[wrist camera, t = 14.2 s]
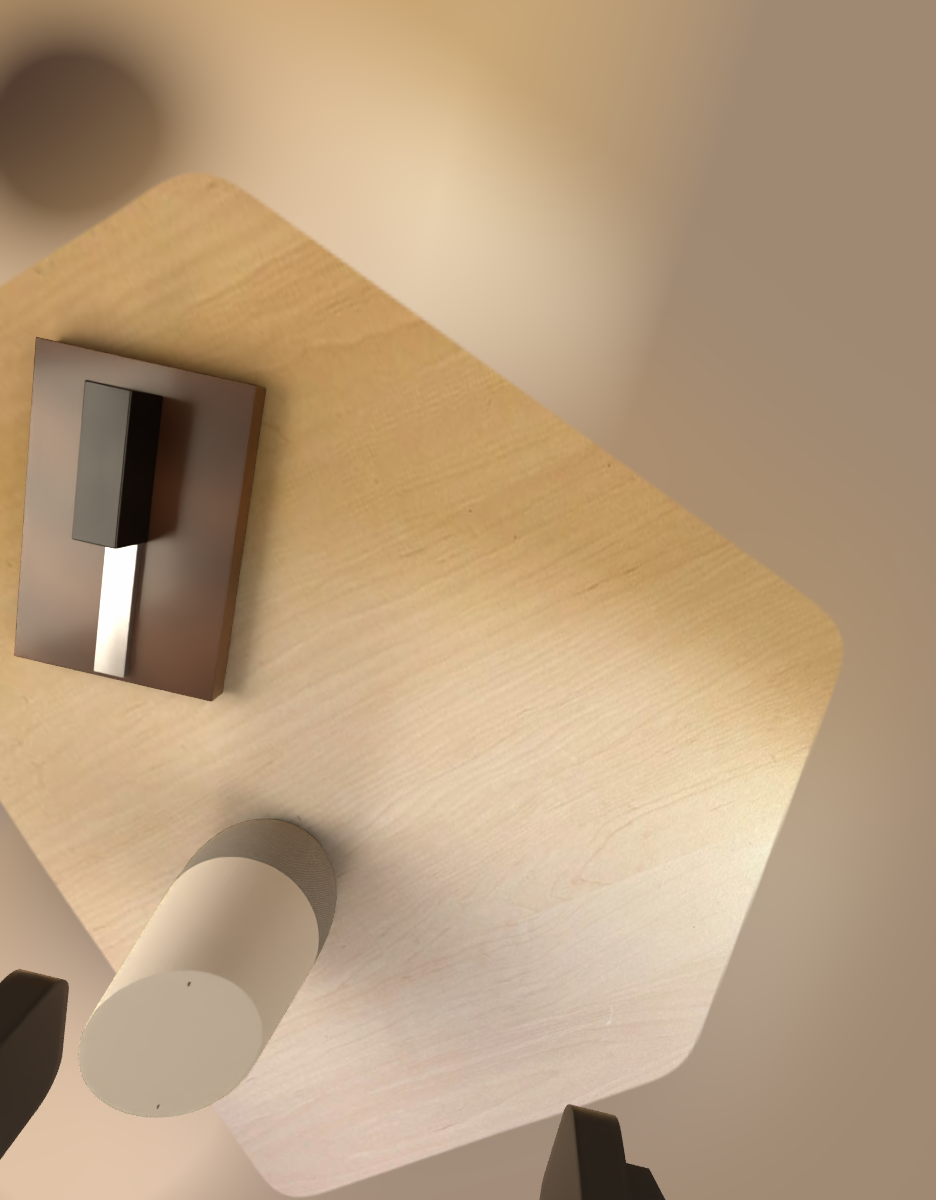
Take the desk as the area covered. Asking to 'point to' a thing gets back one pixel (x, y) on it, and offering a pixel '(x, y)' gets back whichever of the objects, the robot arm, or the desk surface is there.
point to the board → (176, 529)
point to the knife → (116, 504)
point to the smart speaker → (211, 972)
